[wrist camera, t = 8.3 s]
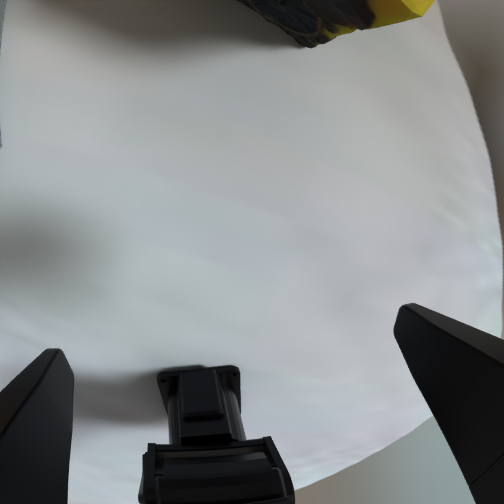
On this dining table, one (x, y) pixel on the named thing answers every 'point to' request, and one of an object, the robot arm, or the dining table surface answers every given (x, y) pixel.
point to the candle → (334, 16)
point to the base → (0, 9)
